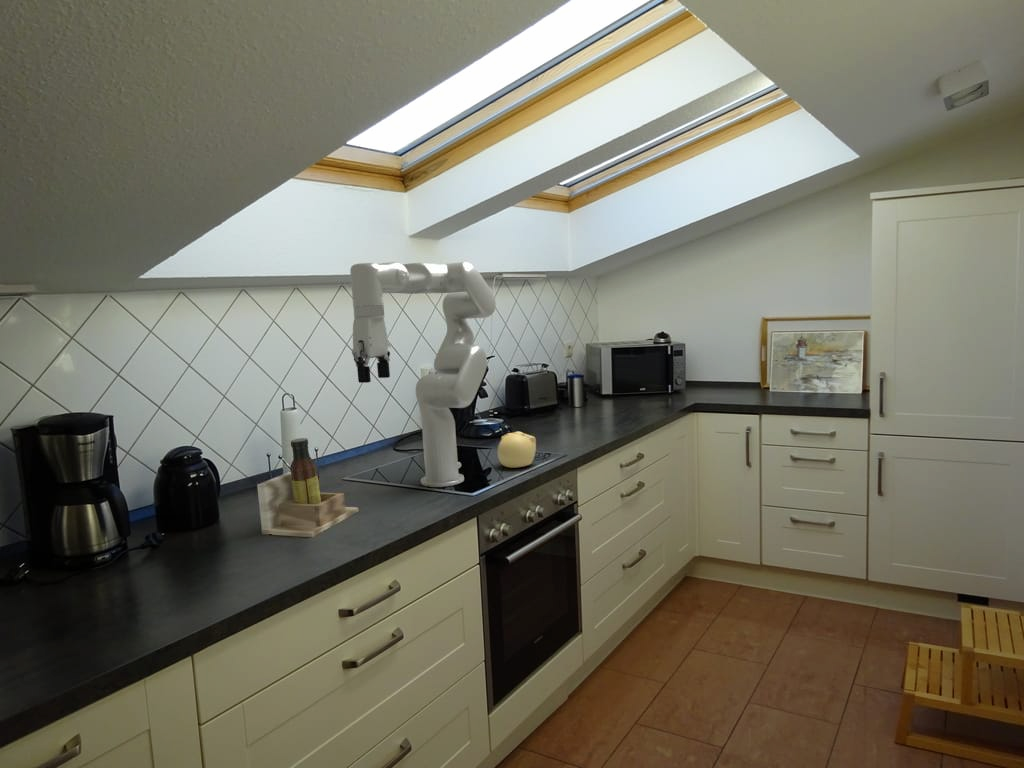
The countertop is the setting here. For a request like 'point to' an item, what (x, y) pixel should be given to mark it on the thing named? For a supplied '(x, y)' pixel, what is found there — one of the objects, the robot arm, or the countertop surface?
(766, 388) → the countertop surface
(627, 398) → the countertop surface
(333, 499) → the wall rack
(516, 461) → the pale yellow rounded lump
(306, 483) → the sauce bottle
